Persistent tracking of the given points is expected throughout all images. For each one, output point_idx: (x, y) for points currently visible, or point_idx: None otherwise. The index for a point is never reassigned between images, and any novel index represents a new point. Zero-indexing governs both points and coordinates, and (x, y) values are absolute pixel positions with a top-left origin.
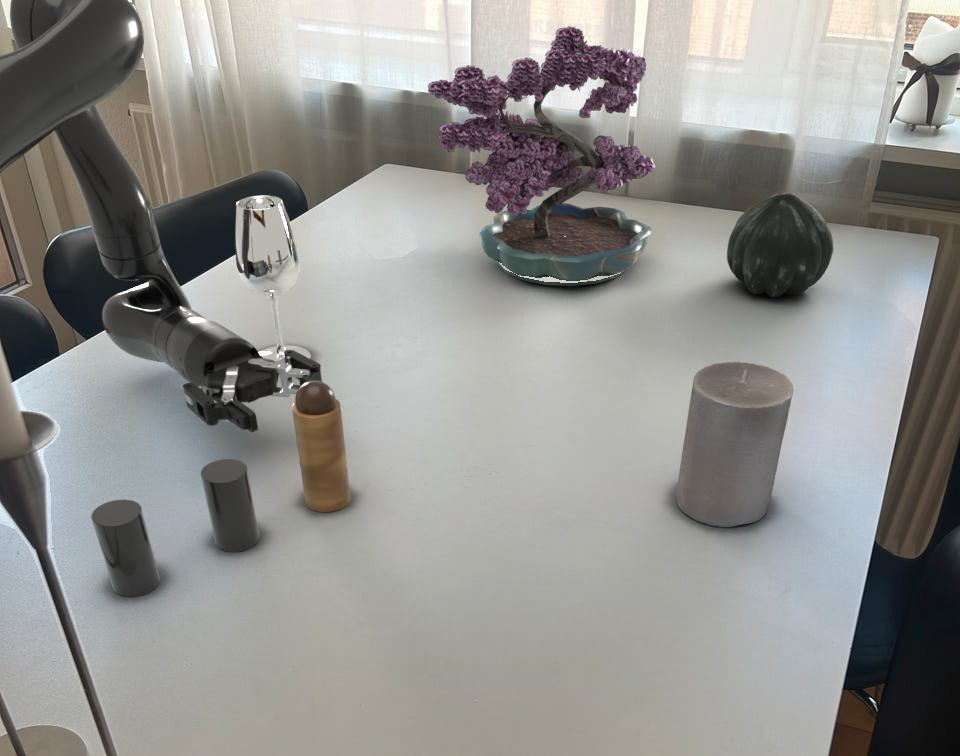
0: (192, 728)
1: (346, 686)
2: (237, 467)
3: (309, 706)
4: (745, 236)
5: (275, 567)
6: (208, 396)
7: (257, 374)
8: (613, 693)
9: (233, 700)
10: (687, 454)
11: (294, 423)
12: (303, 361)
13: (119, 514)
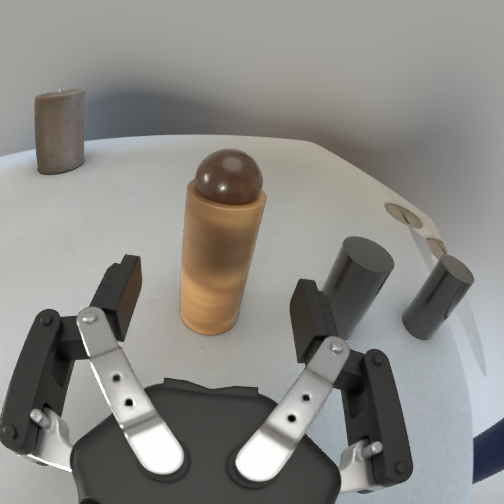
0: (387, 228)
1: (316, 202)
2: (353, 247)
3: (336, 206)
4: None
5: (314, 274)
6: (371, 384)
7: (186, 415)
8: None
9: (368, 226)
10: (71, 134)
11: (260, 222)
12: (39, 359)
13: (455, 265)
